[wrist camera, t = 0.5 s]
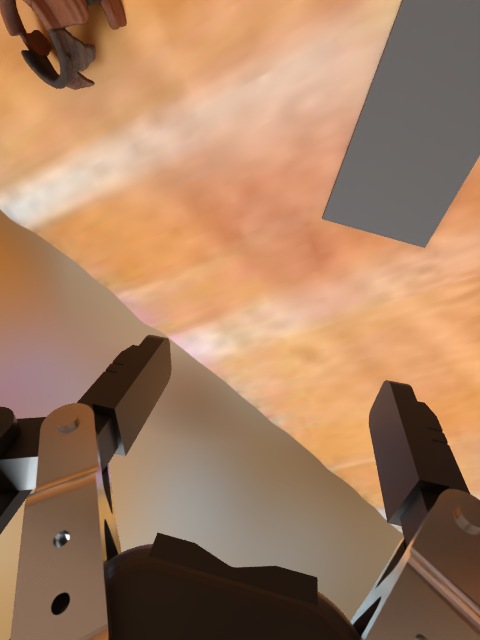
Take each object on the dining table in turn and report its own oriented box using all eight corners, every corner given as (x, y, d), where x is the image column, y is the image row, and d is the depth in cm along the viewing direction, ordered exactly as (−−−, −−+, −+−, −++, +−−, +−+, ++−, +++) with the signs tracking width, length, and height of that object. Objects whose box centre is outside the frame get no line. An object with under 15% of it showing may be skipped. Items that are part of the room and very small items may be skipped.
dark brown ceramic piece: (150, 57, 31) (89, 84, 27) (104, 83, 36) (48, 109, 33) (67, -138, 23) (-36, -140, 19) (25, -66, 29) (-61, -55, 25)
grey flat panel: (499, -265, 18) (505, -276, 18) (700, -227, 18) (711, -238, 17) (322, 217, 35) (322, 219, 34) (423, 246, 34) (424, 247, 34)
